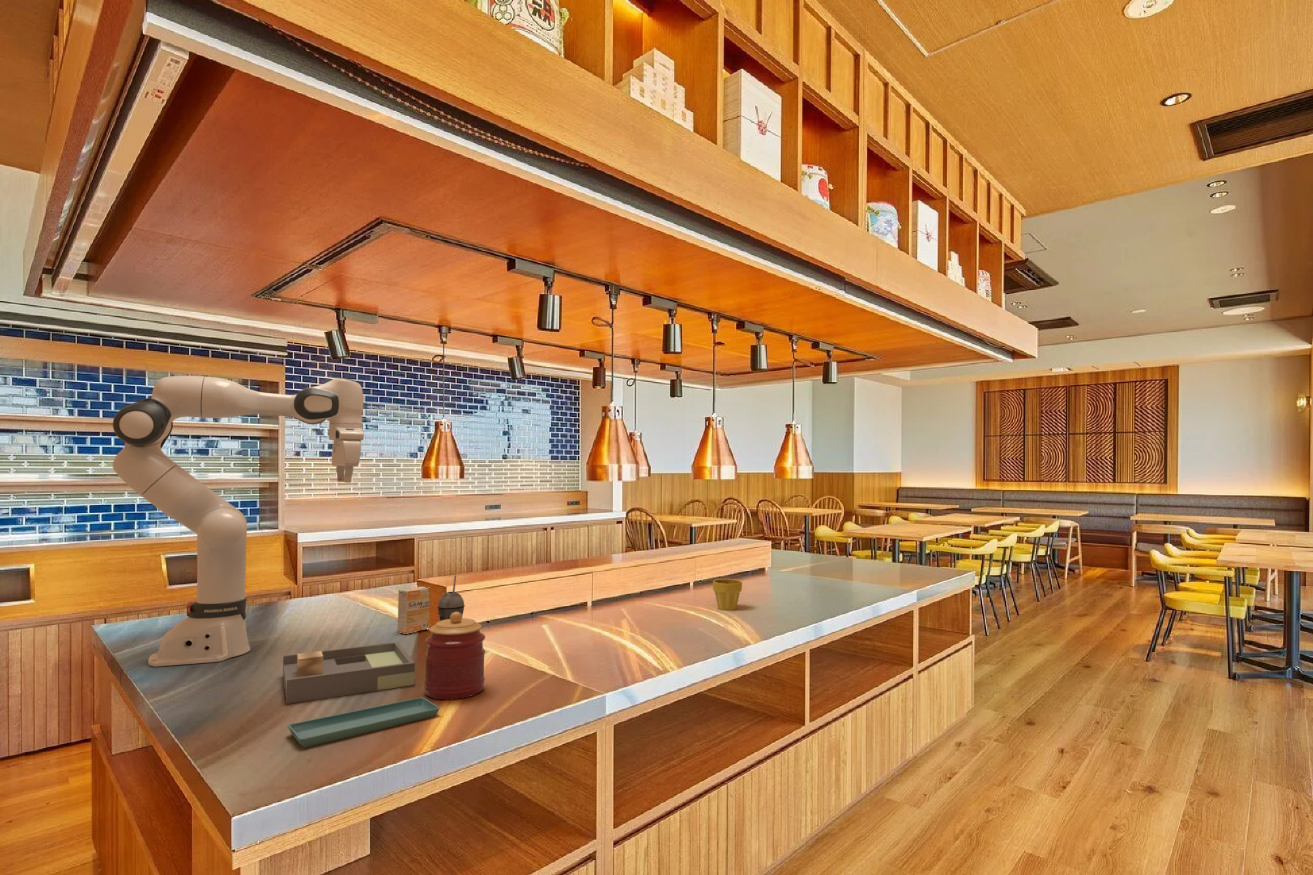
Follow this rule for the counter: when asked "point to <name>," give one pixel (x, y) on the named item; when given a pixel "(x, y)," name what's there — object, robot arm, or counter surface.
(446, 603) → the beverage cup
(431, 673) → the canister
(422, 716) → the rectangular tray
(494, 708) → the counter surface
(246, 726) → the counter surface
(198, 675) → the counter surface
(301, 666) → the birch block
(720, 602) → the plant pot
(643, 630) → the counter surface
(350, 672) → the trap board
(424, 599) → the supplement box
